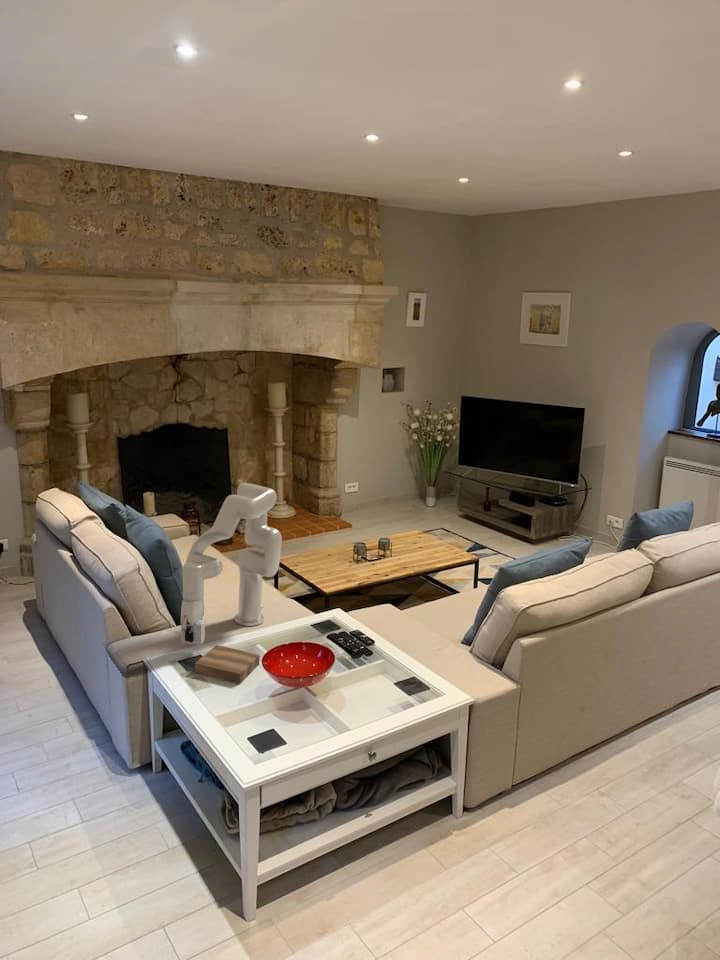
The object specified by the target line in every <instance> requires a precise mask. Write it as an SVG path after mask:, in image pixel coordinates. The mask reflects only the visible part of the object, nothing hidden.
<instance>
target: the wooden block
mask: <svg viewBox="0 0 720 960" xmlns="http://www.w3.org/2000/svg"><path fill="white" fill-rule="evenodd" d="M259 665H260V654H258V653H255V652H254V653H253V652H250V651H246V650H241V649H237V648H232V647H228V646H224V645H220V644H215V645H214V646H213V647H211V648H210V649H209V651H207V652H205V654H204V655H203V656H201V657H200V658H199V659H198V660H196V662H195V663H194V674H196V675H200V676H205V677H209V678H214V679H218V680H221V681H225V682H228V683H229V682H230V683H233V684H237V685H241V684H242V683H243V682H244V681H245V680H246V679H247V678H248V677H249V676H250V675H251V673H252V672H254V671H255V669H256V668H257V667H258V666H259Z"/></svg>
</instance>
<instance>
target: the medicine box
mask: <svg viewBox="0 0 720 960" xmlns="http://www.w3.org/2000/svg"><path fill="white" fill-rule="evenodd" d="M205 621H206V620H205V619H202V620H201V619H200V620H199V621H198V622H197V623H196V624H194V625H193V630H192V632H193V642H188V641H185V632H184V630H183V629H182V625H183V624H181V623H180V626H181V628H180V629H181V630H180V631H181V632H180V633H181V634H180V639H181V640H180V642H181V643H182V644H190V645H199V646H201V645H203V643H204V641H205V639H206V638H205V637H206V636H205V635H206V632H205V627H206V626H205V625H206V624H205V623H206V622H205ZM188 624H190V623H188ZM187 628H189V629H190V626H188V627H187Z"/></svg>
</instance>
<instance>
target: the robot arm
mask: <svg viewBox="0 0 720 960" xmlns="http://www.w3.org/2000/svg"><path fill="white" fill-rule="evenodd" d="M236 491H237V492H236V494H230V495H227V497H225V500H224V502H223V503H222V506H221V508H220V509H219V512H218V513H217V514H218V515H217V516H216V519H215V521H214V523H213V524H212V526H211V528H210V529H208V530H207V531H205V532H204V533H203V534H201V535H200V536H199V537H198V538H196V540H194V542H193V544H192V546H191V547H190V549H189V552H188V554H187V556H186V561H185V563H184V565H183V566H182V567H183V568H182V603H181V609H180V625H181V624H183V625H182V629H183V630H184V632H185V641H188V642H193V632H192V630H193V625H194V624H196V623H197V622H198V621H199V620H200V619H201V620H203V619H204V616H205V601H204V597H205V596H204V594H205V592H204V587H205V585H204V583H205V582H204V581H205V580H208V579H213V578H216V577H218V576H220V574H221V573H222V571H223V568H224V565H223V563H222V560H220V559H219V558H216V557H212V556H209V555H206V554H204V552H205V551H206V549H207V548H208V547H209V546H211V545H212V544H213V543H216V542H220V541H223V540H228V539H231V538H232V537H233V536H234V534H235V531H236V529H237V527H238V525H239V523H240V520H241V519H244V520H245V528H244V542H245V543H246V544H247V545H248V546H250V547H254V548H248V547H247V548H244V549H242V550H241V551H240V553H239V555H238V557H237V558H238V559H237V563H238V570H239V585H238V586H239V587H238V609H237V610H238V611H237V613H236V614H235V615H234V618H233V620H234V622H235V623H236V624H237V625H241V626H247V627H253V626H259V625H261V624H262V623H264V622H265V616H264V615H263V613H262V609H263V608H264V604H262V597H263V596H262V595H263V577H262V576H264V577H267V578H268V577H269V578H271V577H274V576H275V575H276V574H277V573H278V570H279V567H280V561H281V560H280V559H281V554H282V553H281V552H282V543H283V537H282V534H281V531H279V529H277V528H274V527H272V526H269V525H268V511H270V510H271V509H272V508H273V507H274V506H275V504H276V503H277V501H278V497H277V493H276V491H275V490H274V489H273V488H270V487H267V486H263V485H259V484H255V483H254V484H253V483H248V482H243V483H240V484H239V485H238V486H237V490H236ZM255 548H258V549H255ZM259 549H261V550H259ZM188 623H190V624H188ZM188 626H190V629H189V628H187V627H188Z"/></svg>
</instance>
